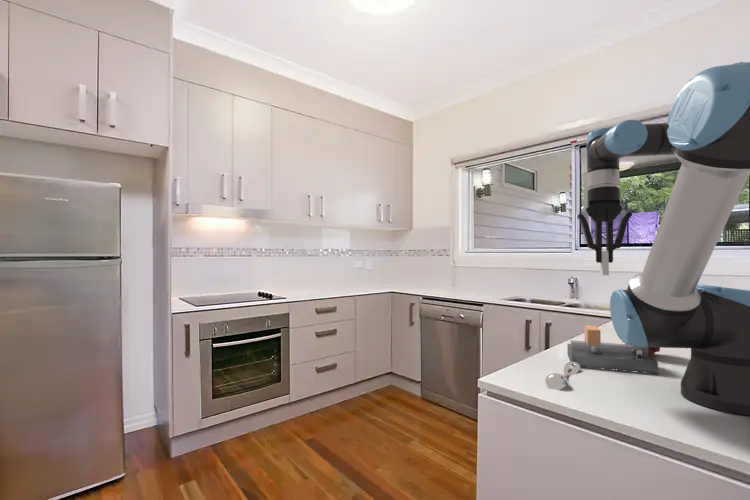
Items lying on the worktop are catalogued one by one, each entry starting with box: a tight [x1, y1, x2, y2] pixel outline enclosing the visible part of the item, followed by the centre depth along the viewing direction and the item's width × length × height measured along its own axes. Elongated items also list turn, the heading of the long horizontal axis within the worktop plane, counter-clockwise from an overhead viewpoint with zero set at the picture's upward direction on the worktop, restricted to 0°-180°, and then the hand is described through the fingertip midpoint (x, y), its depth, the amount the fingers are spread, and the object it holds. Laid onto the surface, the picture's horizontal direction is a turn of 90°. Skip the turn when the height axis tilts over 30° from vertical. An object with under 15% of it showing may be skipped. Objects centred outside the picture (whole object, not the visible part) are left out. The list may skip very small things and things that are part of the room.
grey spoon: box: [545, 361, 581, 391], centre depth 93 cm, size 20×4×5 cm
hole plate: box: [567, 343, 659, 375], centre depth 105 cm, size 13×19×3 cm
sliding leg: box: [584, 324, 602, 352], centre depth 106 cm, size 7×3×6 cm, turn 158°
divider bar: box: [570, 339, 648, 357], centre depth 105 cm, size 6×18×6 cm, turn 68°
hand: (604, 275), depth 104 cm, fingers closed
